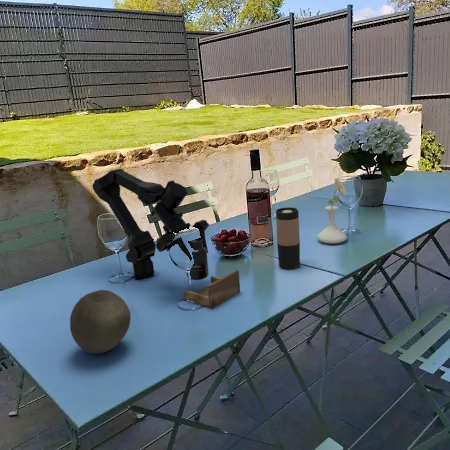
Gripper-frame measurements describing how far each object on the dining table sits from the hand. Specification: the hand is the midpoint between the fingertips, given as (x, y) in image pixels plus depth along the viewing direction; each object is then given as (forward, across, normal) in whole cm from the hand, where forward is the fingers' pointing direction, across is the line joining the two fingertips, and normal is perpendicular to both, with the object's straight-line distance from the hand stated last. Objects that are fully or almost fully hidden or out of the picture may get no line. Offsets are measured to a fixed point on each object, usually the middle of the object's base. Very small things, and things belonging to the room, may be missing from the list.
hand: (199, 256), depth 130 cm
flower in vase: (+18, -62, +1) cm, 65 cm away
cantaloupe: (+9, +36, -8) cm, 39 cm away
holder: (+11, 0, -6) cm, 13 cm away
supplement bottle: (+4, 0, -6) cm, 7 cm away
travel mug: (+17, -32, 0) cm, 36 cm away
